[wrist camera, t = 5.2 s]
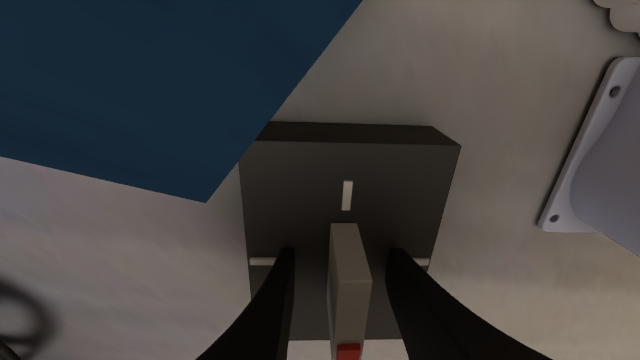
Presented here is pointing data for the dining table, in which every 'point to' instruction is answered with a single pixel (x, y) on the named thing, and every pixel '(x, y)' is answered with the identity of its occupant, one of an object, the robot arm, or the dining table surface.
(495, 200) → the dining table surface
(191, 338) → the dining table surface
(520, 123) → the dining table surface
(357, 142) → the panel
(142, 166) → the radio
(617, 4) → the mooncake
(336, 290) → the timer knob
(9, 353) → the milk frother
